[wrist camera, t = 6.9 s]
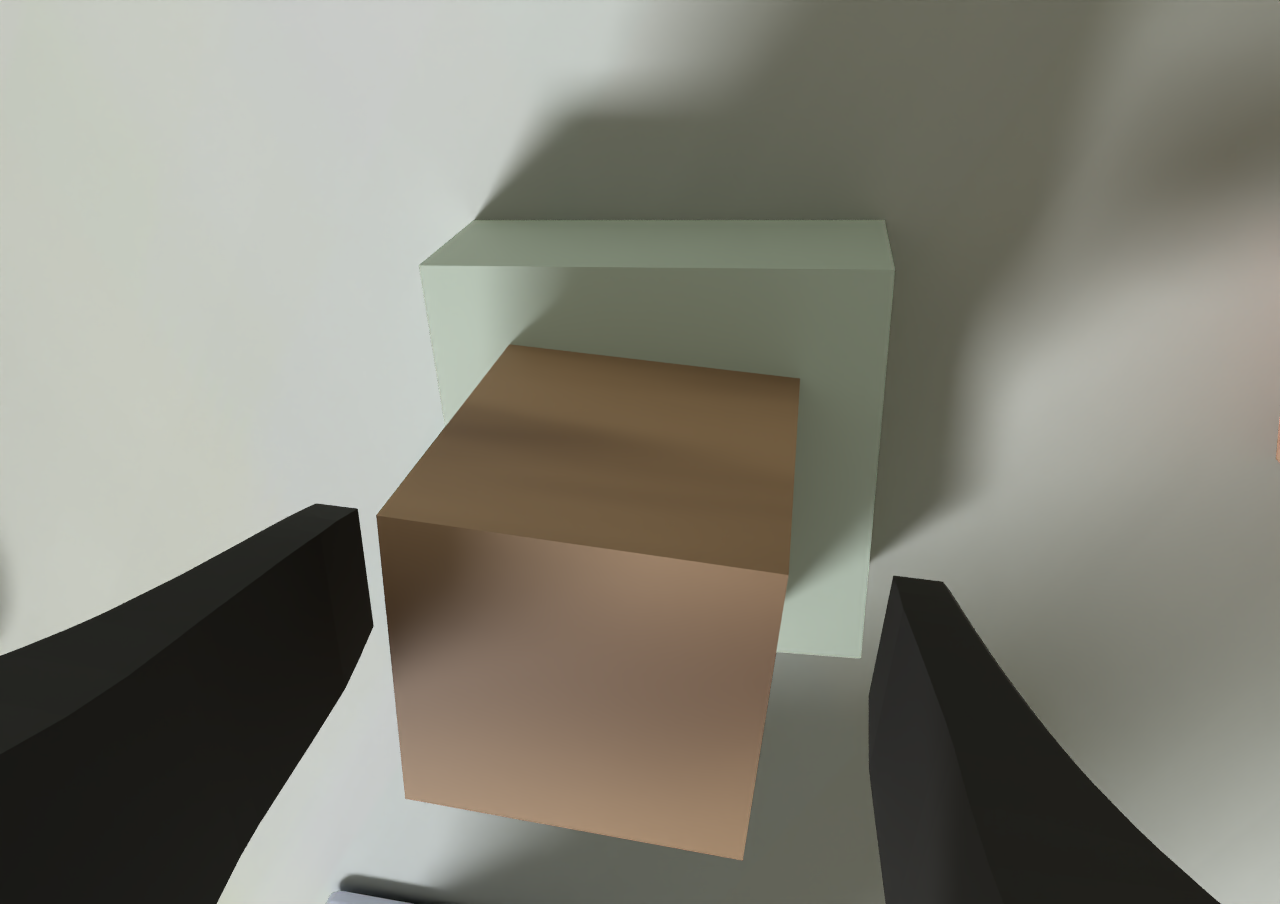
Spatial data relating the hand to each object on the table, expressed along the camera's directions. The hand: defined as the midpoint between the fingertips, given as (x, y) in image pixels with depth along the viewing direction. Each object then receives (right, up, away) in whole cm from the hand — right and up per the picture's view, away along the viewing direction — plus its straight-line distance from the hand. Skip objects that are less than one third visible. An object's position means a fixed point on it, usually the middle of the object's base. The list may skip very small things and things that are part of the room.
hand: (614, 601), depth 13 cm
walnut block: (0, +1, +3) cm, 3 cm away
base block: (+1, +3, +5) cm, 6 cm away
